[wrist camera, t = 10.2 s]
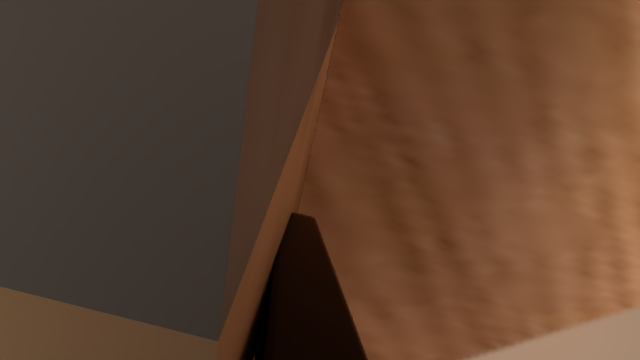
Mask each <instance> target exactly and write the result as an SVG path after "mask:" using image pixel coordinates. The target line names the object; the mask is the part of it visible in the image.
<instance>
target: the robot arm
mask: <svg viewBox="0 0 640 360" xmlns="http://www.w3.org/2000/svg"><path fill="white" fill-rule="evenodd" d="M254 360H368V359H367V356H366V353H365V351H364V348H363V345H362V343H361V340H360V337H359V334H358V332H357V329H356V326H355V324H354V321H353V318H352V316H351V313H350V310H349V308H348V305H347V302H346V300H345V297H344V294H343V292H342V289H341V286H340V284H339V281H338V278H337V276H336V273H335V270H334V267H333V265H332V262H331V259H330V257H329V254H328V251H327V249H326V246H325V243H324V241H323V238H322V235H321V233H320V230H319V227H318V225H317V222H316V220H315V218H314V217H311V216H307V215H303V214H299V213H291V215H290V218H289V221H288V224H287V226H286V229H285V232H284V234H283V237H282V240H281V242H280V245H279V248H278V251H277V253H276V256H275V260H274V263H273V268H272V273H271V278H270V283H269V288H268V293H267V298H266V303H265V308H264V312H263V317H262V322H261V327H260V332H259V337H258V342H257V347H256V352H255V357H254Z"/></svg>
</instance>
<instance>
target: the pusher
mask: <svg viewBox="0 0 640 360" xmlns="http://www.w3.org/2000/svg"><path fill="white" fill-rule="evenodd" d="M342 1H343V0H0V360H254V357H255V352H256V347H257V342H258V337H259V332H260V327H261V322H262V317H263V312H264V308H265V303H266V298H267V293H268V288H269V283H270V278H271V273H272V268H273V263H274V260H275V256H276V253H277V251H278V248H279V245H280V242H281V240H282V237H283V234H284V232H285V229H286V226H287V224H288V221H289V218H290V215H291V213H297V212H298V207H299V203H300V198H301V193H302V189H303V184H304V179H305V174H306V170H307V165H308V160H309V156H310V151H311V146H312V142H313V137H314V132H315V128H316V123H317V118H318V114H319V109H320V104H321V100H322V95H323V90H324V86H325V81H326V76H327V72H328V67H329V62H330V58H331V53H332V48H333V44H334V39H335V34H336V30H337V25H338V20H339V16H340V11H341V6H342Z"/></svg>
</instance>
